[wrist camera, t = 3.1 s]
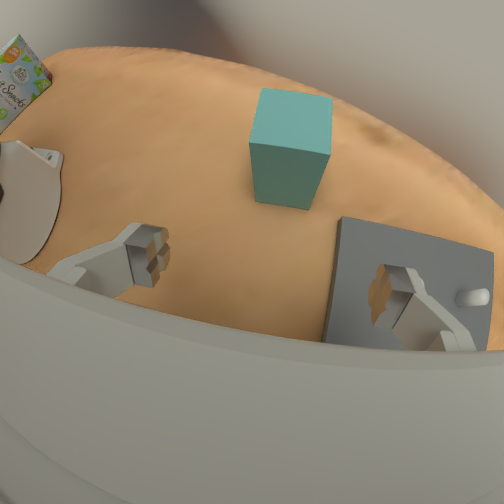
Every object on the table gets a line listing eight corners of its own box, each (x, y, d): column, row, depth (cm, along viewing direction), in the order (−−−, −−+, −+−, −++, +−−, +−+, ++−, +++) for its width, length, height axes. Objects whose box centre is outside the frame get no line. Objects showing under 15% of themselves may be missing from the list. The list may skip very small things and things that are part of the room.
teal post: (255, 201, 25) (248, 142, 16) (264, 157, 26) (261, 87, 16) (308, 210, 25) (330, 154, 15) (313, 164, 26) (332, 98, 16)
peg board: (301, 429, 21) (308, 457, 16) (338, 221, 25) (355, 199, 19) (459, 420, 19) (485, 434, 14) (485, 255, 23) (515, 245, 17)
